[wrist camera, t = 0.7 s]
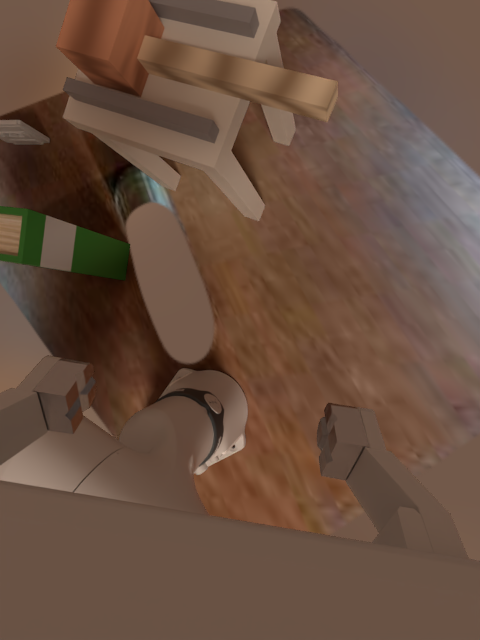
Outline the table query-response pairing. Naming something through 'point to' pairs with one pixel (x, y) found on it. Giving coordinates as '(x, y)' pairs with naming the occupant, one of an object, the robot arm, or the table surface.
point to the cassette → (21, 133)
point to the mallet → (178, 60)
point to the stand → (189, 100)
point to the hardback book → (59, 245)
